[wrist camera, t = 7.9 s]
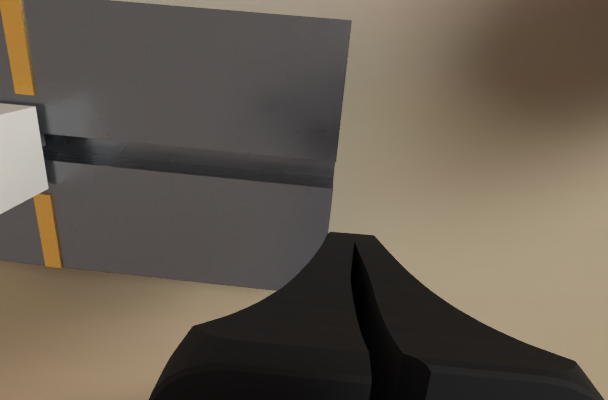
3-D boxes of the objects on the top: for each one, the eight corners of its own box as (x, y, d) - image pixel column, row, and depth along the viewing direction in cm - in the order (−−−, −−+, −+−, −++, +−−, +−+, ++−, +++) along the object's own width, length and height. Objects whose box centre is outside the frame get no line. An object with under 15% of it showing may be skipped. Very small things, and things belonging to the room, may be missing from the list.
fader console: (323, 263, 23) (321, 296, 20) (-16, 227, 23) (-66, 254, 20) (349, 22, 18) (351, 20, 15) (-71, -12, 19) (-144, -21, 16)
